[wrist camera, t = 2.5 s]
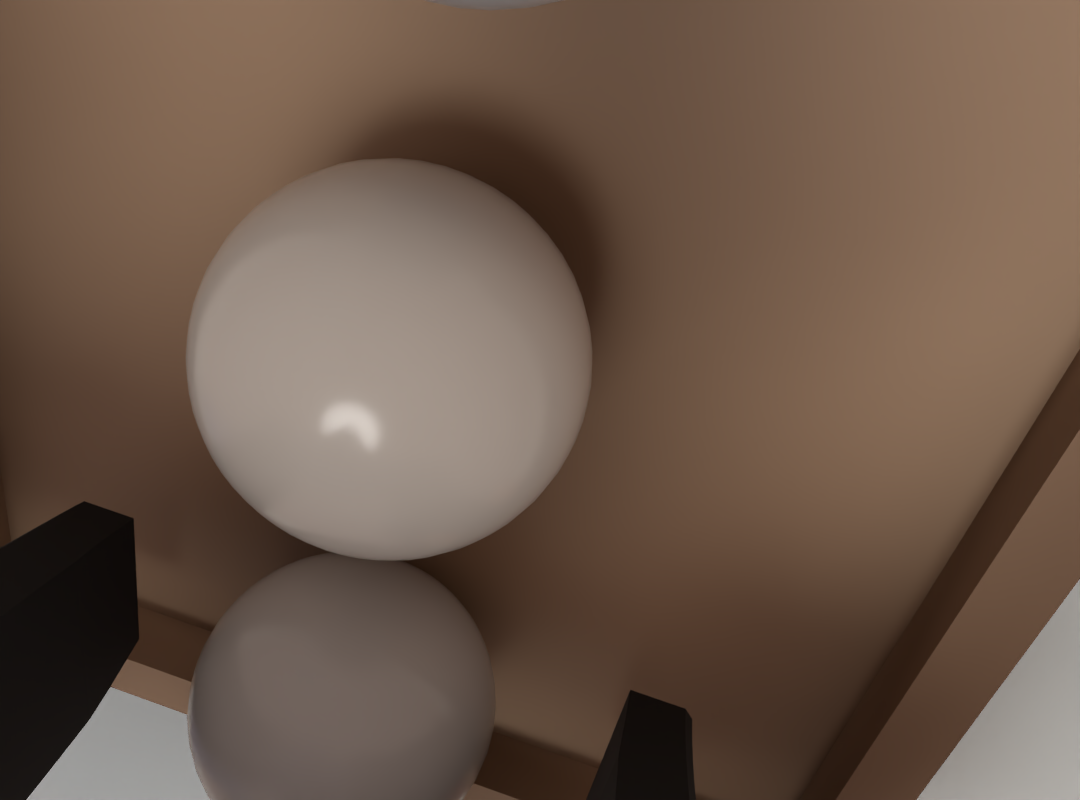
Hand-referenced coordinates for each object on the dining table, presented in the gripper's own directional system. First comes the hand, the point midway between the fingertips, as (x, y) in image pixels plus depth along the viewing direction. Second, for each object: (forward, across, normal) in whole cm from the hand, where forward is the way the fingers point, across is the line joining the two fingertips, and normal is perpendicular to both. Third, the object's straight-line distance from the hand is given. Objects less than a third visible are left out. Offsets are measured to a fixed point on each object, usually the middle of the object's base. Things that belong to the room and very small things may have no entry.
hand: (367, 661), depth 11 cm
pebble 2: (+1, 0, 0) cm, 1 cm away
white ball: (+1, 0, -4) cm, 5 cm away
